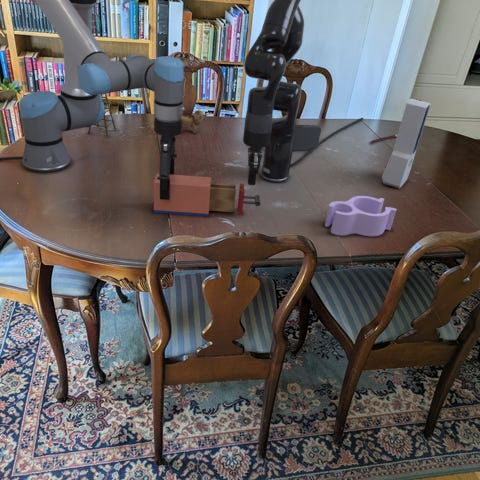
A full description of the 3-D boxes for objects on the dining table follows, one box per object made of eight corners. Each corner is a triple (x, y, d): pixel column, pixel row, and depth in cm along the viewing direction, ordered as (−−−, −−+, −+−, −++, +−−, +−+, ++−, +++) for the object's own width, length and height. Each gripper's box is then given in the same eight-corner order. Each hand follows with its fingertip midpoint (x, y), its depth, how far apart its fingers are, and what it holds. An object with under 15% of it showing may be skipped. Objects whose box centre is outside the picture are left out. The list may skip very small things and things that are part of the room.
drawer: (258, 208, 145) (261, 184, 141) (259, 216, 141) (262, 192, 137) (192, 203, 144) (193, 179, 140) (191, 211, 140) (192, 187, 135)
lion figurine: (200, 128, 202) (201, 108, 197) (204, 133, 198) (205, 112, 193) (167, 129, 197) (167, 108, 192) (170, 134, 193) (170, 113, 188)
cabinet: (209, 206, 145) (211, 177, 140) (208, 216, 140) (210, 186, 135) (156, 202, 144) (156, 173, 139) (153, 212, 139) (153, 182, 133)
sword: (407, 132, 223) (408, 129, 223) (413, 134, 221) (413, 131, 221) (364, 143, 208) (365, 141, 207) (370, 146, 206) (370, 143, 205)
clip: (337, 240, 135) (342, 219, 131) (318, 218, 145) (322, 198, 141) (395, 233, 141) (402, 213, 137) (373, 213, 151) (378, 194, 147)
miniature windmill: (107, 136, 184) (102, 57, 168) (87, 133, 185) (80, 54, 169) (116, 129, 192) (112, 52, 176) (97, 126, 193) (91, 49, 177)
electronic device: (399, 190, 168) (424, 107, 152) (379, 183, 171) (402, 102, 155) (408, 178, 177) (433, 100, 161) (389, 173, 180) (411, 95, 164)
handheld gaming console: (315, 147, 196) (319, 124, 190) (317, 149, 194) (322, 126, 188) (264, 149, 189) (267, 125, 183) (266, 152, 187) (269, 127, 181)
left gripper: (178, 136, 116) (176, 209, 128) (185, 105, 137) (183, 171, 149) (147, 133, 116) (148, 207, 127) (159, 102, 137) (159, 169, 148)
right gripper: (273, 137, 123) (265, 195, 133) (269, 120, 134) (262, 175, 144) (245, 134, 123) (239, 193, 132) (243, 118, 134) (238, 173, 143)
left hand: (167, 188), depth 138 cm, fingers open, 13 cm apart
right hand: (251, 183), depth 138 cm, fingers closed
